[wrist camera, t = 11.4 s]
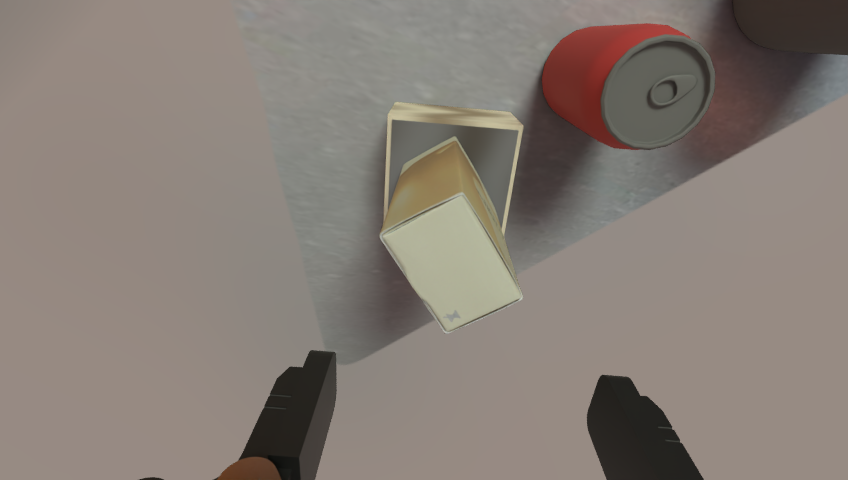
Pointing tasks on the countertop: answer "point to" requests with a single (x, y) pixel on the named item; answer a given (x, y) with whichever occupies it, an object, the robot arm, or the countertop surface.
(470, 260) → the skincare box
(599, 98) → the beer can
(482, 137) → the birch plinth
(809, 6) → the mug
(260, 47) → the countertop surface
